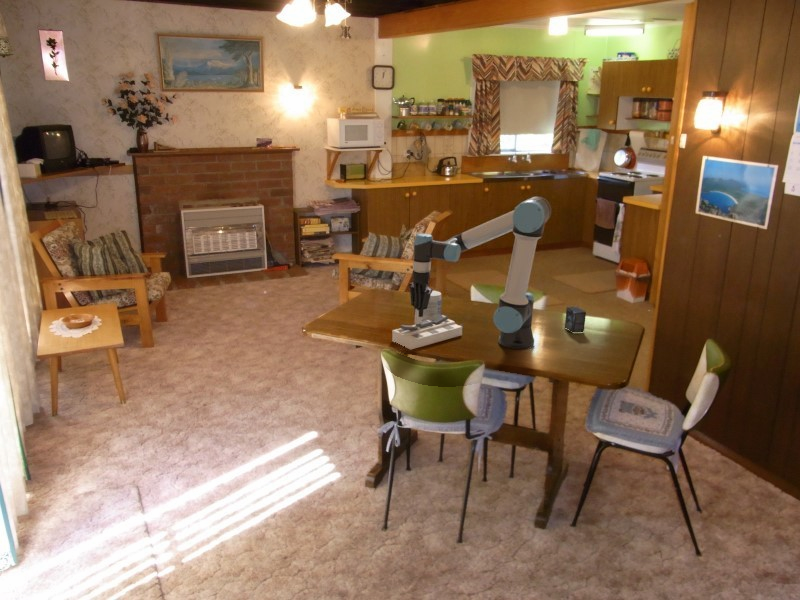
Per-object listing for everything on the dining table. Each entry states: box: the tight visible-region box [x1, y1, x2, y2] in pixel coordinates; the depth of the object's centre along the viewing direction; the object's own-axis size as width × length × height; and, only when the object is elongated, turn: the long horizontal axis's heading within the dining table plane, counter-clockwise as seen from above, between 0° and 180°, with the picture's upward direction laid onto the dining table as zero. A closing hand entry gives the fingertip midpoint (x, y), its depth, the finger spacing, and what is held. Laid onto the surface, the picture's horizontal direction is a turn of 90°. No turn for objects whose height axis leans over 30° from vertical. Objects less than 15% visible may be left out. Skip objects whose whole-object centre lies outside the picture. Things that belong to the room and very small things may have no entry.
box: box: [564, 306, 587, 332], centre depth 314 cm, size 8×6×11 cm
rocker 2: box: [415, 320, 433, 328], centre depth 301 cm, size 3×7×2 cm, turn 130°
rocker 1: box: [399, 324, 417, 331], centre depth 295 cm, size 3×7×2 cm, turn 130°
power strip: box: [391, 318, 464, 350], centre depth 302 cm, size 12×36×5 cm, turn 130°
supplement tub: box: [422, 290, 442, 321], centre depth 318 cm, size 10×10×15 cm
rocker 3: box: [432, 314, 449, 325], centre depth 307 cm, size 3×7×2 cm, turn 130°
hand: (418, 323), depth 299 cm, fingers closed
